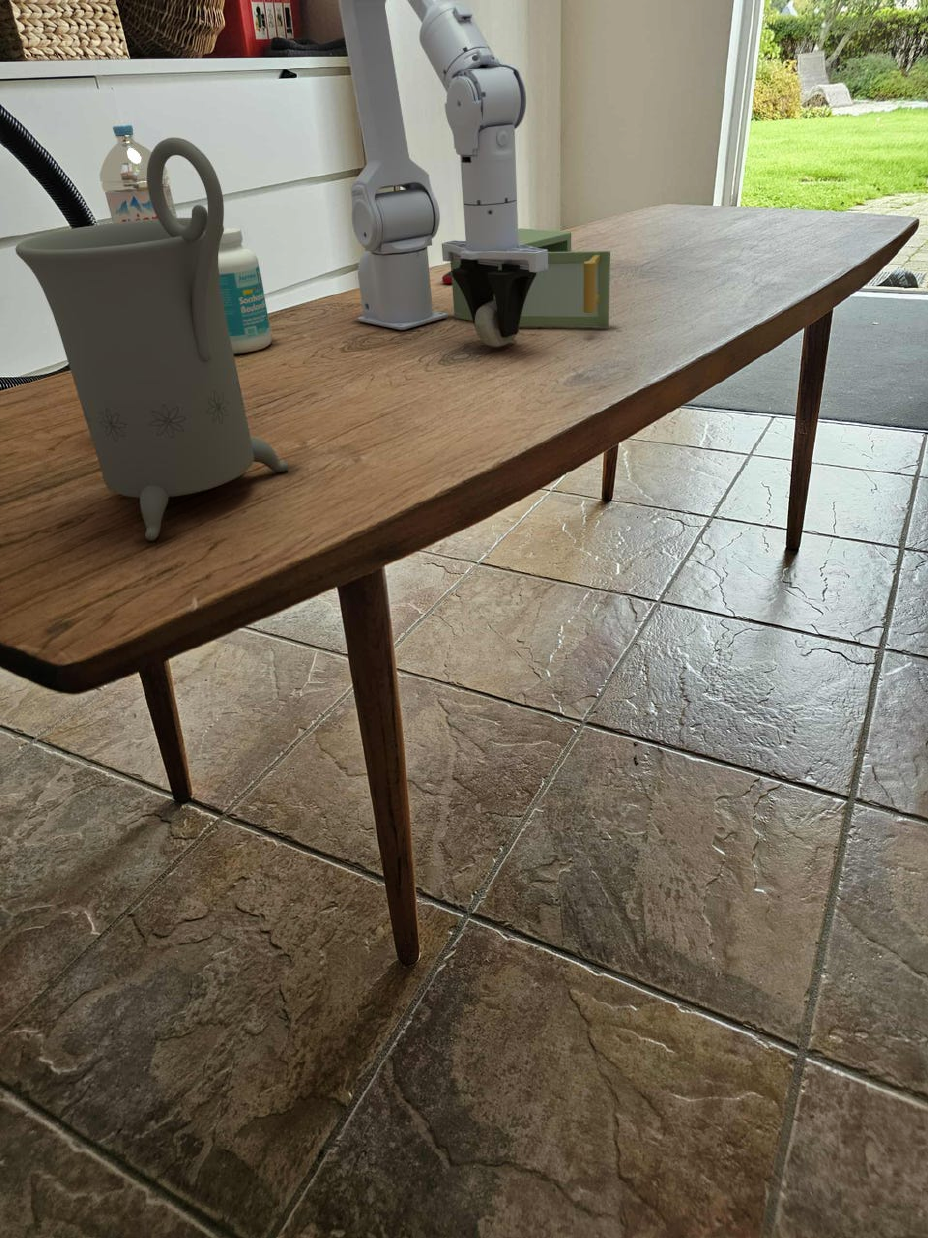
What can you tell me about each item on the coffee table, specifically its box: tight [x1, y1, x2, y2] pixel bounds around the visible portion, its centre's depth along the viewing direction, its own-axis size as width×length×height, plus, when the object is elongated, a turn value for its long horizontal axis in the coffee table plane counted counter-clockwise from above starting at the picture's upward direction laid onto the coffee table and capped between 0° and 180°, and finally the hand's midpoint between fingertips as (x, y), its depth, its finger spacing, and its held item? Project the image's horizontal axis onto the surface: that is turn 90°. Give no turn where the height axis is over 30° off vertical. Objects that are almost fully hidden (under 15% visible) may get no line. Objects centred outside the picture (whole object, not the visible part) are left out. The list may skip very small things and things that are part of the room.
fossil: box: [474, 300, 520, 348], centre depth 98 cm, size 6×3×5 cm, turn 150°
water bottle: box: [99, 124, 178, 223], centre depth 94 cm, size 7×7×25 cm
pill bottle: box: [218, 227, 273, 355], centre depth 105 cm, size 8×7×14 cm
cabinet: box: [450, 227, 572, 322], centre depth 112 cm, size 13×9×9 cm
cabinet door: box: [519, 250, 611, 328], centre depth 102 cm, size 13×5×8 cm, turn 72°
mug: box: [14, 137, 289, 542], centre depth 63 cm, size 19×15×25 cm
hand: (496, 332), depth 99 cm, fingers closed on fossil, 3 cm apart
